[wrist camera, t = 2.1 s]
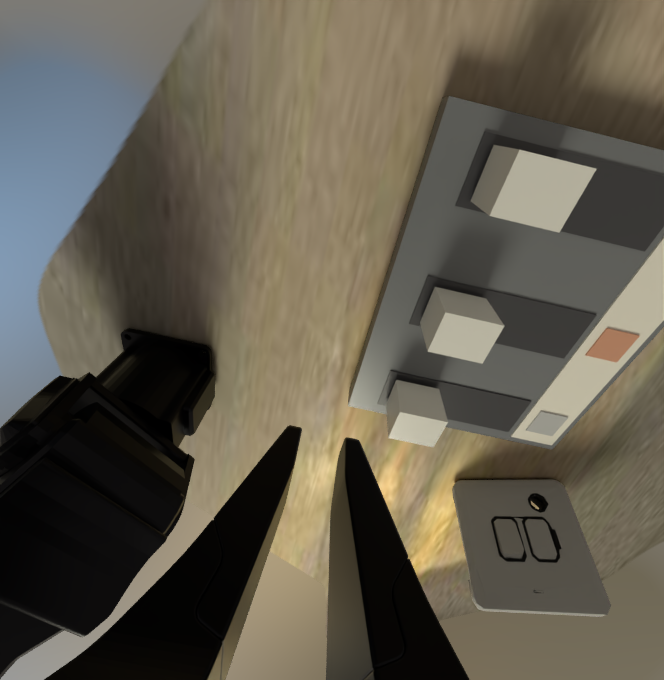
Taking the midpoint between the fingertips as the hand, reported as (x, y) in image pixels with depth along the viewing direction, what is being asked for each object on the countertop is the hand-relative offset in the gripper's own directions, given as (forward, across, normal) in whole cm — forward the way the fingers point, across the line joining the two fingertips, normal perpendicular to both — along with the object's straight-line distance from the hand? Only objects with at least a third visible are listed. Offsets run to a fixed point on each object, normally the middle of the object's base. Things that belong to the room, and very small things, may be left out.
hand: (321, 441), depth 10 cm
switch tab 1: (+11, -7, +7) cm, 15 cm away
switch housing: (+13, -10, 0) cm, 17 cm away
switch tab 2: (+11, -6, 0) cm, 13 cm away
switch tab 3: (+11, -6, -7) cm, 15 cm away
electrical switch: (+13, -20, +18) cm, 30 cm away
